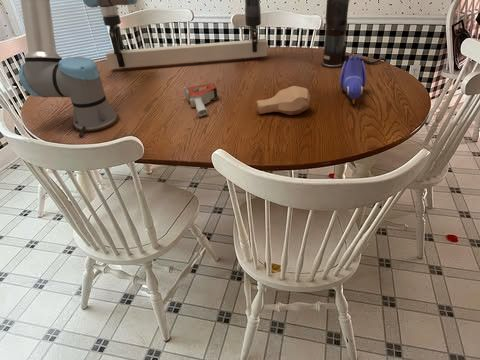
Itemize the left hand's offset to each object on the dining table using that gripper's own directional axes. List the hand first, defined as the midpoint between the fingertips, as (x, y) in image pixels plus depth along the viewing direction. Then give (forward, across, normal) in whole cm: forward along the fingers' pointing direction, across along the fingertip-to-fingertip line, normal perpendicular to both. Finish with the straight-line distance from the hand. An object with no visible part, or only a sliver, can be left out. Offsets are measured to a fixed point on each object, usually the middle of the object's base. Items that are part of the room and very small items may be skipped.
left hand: (123, 64), depth 180 cm
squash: (+3, -65, -70) cm, 95 cm away
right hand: (-2, 0, -67) cm, 67 cm away
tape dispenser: (+3, -52, -39) cm, 65 cm away
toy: (+3, -57, -98) cm, 114 cm away
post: (+1, 0, -34) cm, 34 cm away
